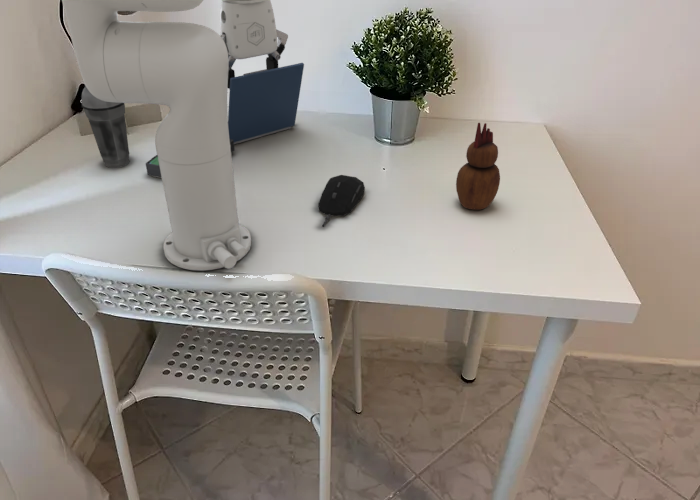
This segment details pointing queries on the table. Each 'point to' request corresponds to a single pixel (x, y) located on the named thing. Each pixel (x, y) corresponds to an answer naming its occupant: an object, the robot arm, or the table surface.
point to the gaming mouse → (340, 196)
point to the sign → (263, 102)
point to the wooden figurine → (479, 172)
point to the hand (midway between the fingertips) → (252, 83)
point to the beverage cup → (107, 129)
